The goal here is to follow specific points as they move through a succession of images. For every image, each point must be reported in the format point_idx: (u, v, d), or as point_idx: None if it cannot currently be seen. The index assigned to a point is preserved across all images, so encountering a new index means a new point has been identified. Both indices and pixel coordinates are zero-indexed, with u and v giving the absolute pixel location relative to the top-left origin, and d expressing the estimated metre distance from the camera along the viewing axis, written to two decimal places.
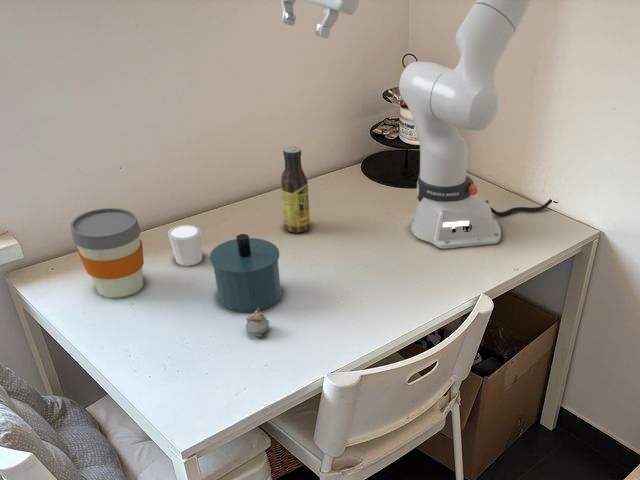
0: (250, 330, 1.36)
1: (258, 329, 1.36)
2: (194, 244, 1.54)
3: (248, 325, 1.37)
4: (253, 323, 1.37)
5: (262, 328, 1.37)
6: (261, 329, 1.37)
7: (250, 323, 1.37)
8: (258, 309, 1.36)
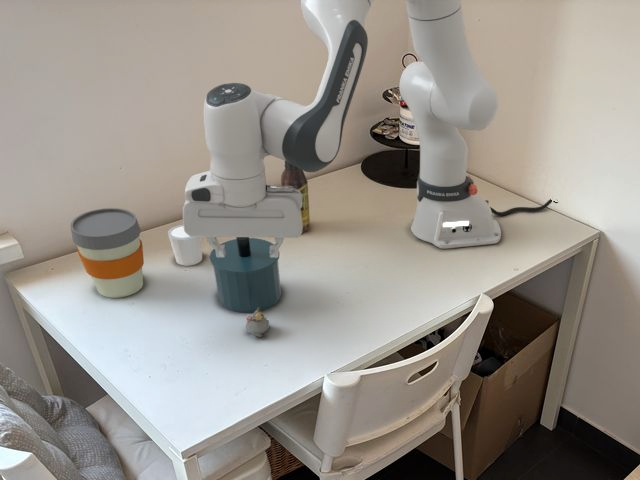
0: (250, 330, 1.36)
1: (258, 329, 1.36)
2: (194, 244, 1.54)
3: (248, 325, 1.37)
4: (253, 323, 1.37)
5: (262, 328, 1.37)
6: (261, 329, 1.37)
7: (250, 323, 1.37)
8: (258, 309, 1.36)
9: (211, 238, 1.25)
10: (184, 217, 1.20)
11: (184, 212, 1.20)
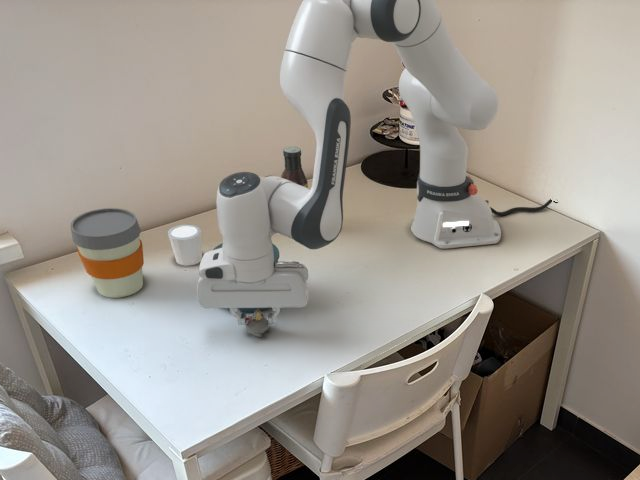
0: (250, 330, 1.36)
1: (258, 329, 1.36)
2: (194, 244, 1.54)
3: (248, 325, 1.37)
4: (253, 323, 1.37)
5: (262, 328, 1.37)
6: (261, 329, 1.37)
7: (250, 323, 1.37)
8: (258, 309, 1.36)
9: (233, 309, 1.34)
10: (198, 292, 1.30)
11: (198, 287, 1.29)
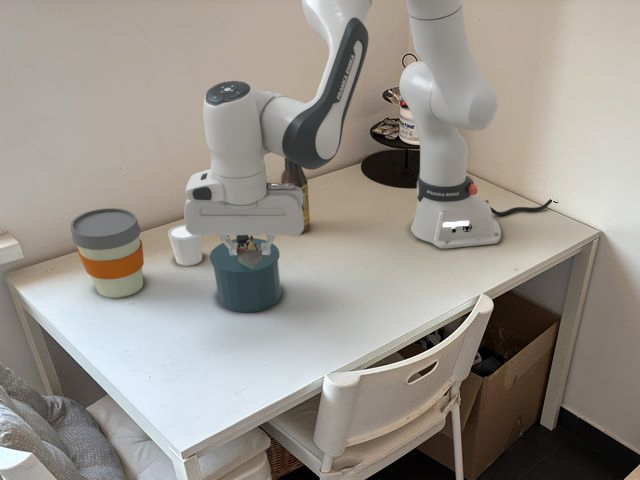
0: (242, 260, 1.27)
1: (251, 259, 1.27)
2: (194, 244, 1.54)
3: (240, 255, 1.28)
4: (245, 253, 1.28)
5: (255, 258, 1.27)
6: (254, 259, 1.27)
7: (242, 253, 1.28)
8: (251, 237, 1.26)
9: (224, 236, 1.25)
10: (186, 216, 1.21)
11: (185, 211, 1.20)
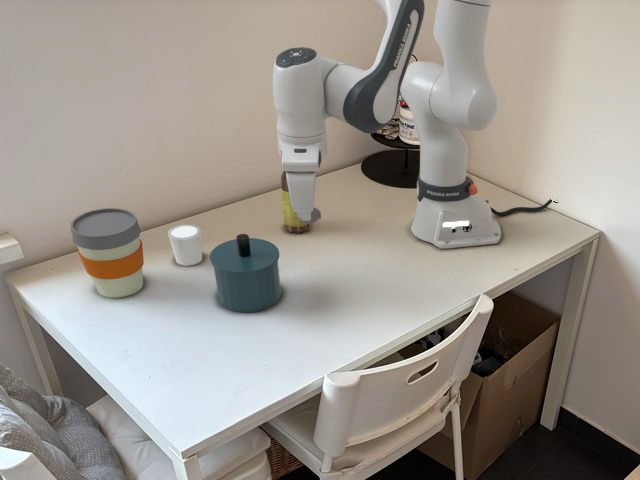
0: (318, 215, 1.38)
1: (318, 210, 1.39)
2: (194, 244, 1.54)
3: (313, 214, 1.37)
4: None
5: (317, 209, 1.39)
6: (318, 210, 1.39)
7: (311, 212, 1.37)
8: None
9: None
10: (314, 192, 1.26)
11: (314, 186, 1.25)
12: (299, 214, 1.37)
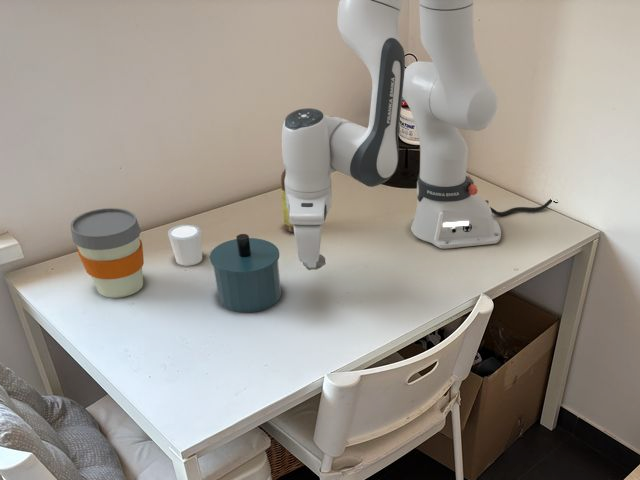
0: (323, 261, 1.45)
1: (323, 257, 1.46)
2: (194, 244, 1.54)
3: (318, 261, 1.44)
4: None
5: None
6: (322, 256, 1.46)
7: None
8: None
9: None
10: (319, 243, 1.33)
11: (320, 238, 1.32)
12: None
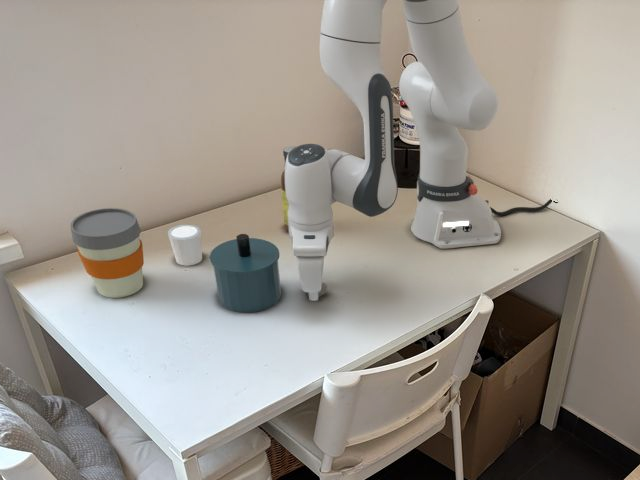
0: (324, 290, 1.49)
1: (325, 285, 1.50)
2: (194, 244, 1.54)
3: None
4: None
5: (323, 283, 1.51)
6: (324, 284, 1.51)
7: None
8: None
9: None
10: (322, 274, 1.37)
11: (322, 269, 1.37)
12: None
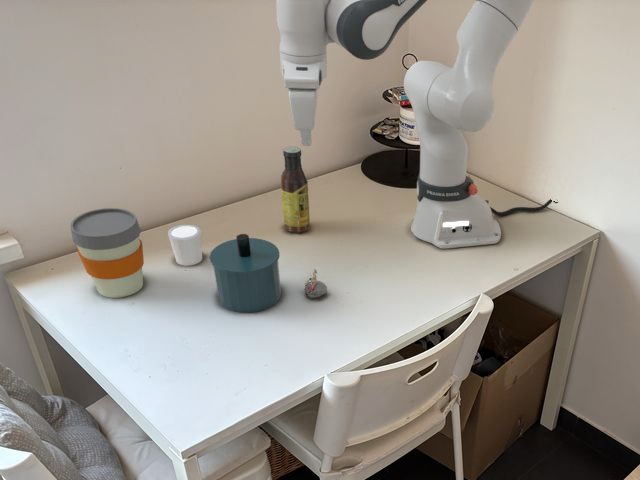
0: (324, 290, 1.49)
1: (325, 285, 1.50)
2: (194, 244, 1.54)
3: (319, 289, 1.48)
4: (318, 285, 1.49)
5: (323, 283, 1.51)
6: (324, 284, 1.51)
7: (318, 287, 1.48)
8: (315, 270, 1.48)
9: None
10: (314, 109, 1.32)
11: (315, 103, 1.32)
12: (307, 289, 1.49)
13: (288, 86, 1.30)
